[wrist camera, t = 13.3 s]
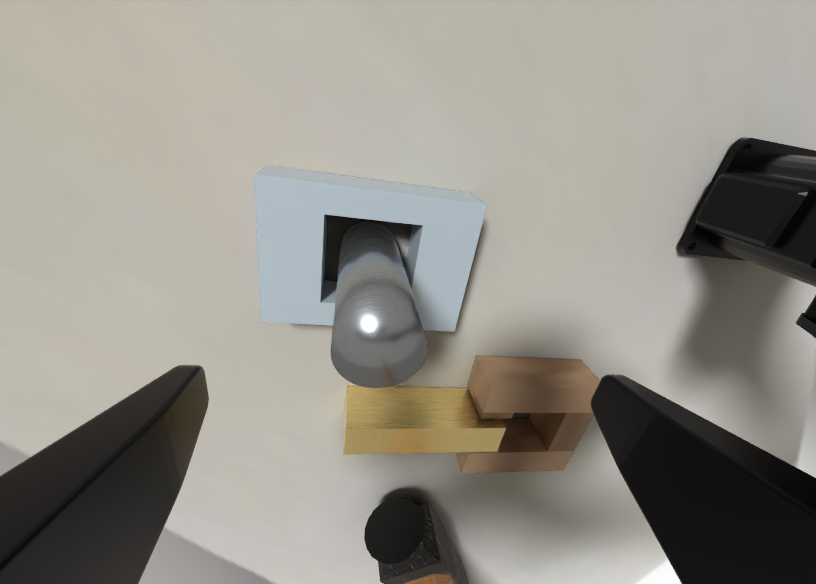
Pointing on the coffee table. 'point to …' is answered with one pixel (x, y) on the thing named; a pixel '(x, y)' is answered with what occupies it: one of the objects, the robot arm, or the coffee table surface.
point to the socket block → (530, 411)
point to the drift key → (416, 421)
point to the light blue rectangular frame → (366, 199)
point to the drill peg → (375, 311)
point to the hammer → (411, 545)
